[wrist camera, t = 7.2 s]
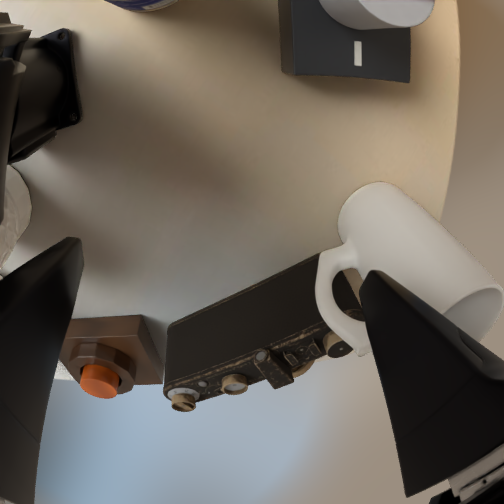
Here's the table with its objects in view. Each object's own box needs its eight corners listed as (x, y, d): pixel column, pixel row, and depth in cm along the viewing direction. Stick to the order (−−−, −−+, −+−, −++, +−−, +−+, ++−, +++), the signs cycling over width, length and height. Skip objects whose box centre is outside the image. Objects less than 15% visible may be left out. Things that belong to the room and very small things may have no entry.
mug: (410, 170, 21) (519, 268, 11) (407, 241, 25) (484, 346, 15) (283, 199, 21) (344, 338, 11) (297, 272, 25) (343, 405, 15)
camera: (199, 360, 30) (201, 430, 24) (157, 324, 27) (149, 402, 20) (351, 293, 27) (385, 363, 21) (329, 241, 24) (369, 316, 17)
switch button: (93, 383, 26) (90, 398, 24) (77, 362, 24) (73, 378, 22) (124, 383, 26) (122, 399, 25) (110, 362, 24) (107, 379, 23)
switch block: (83, 367, 30) (76, 396, 27) (50, 319, 25) (38, 351, 22) (164, 365, 31) (162, 397, 27) (141, 314, 26) (135, 350, 23)
